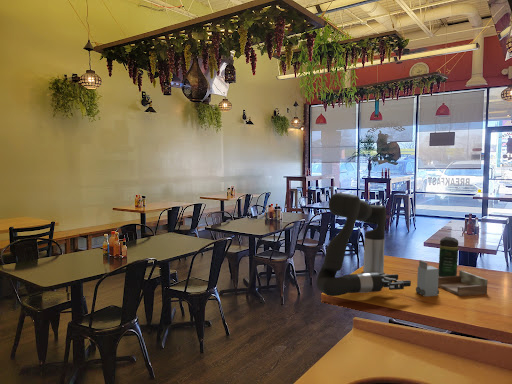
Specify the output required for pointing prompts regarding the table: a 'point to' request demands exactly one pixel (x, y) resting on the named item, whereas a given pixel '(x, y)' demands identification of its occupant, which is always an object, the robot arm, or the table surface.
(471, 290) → the tray
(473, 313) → the table surface
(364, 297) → the table surface
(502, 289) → the table surface
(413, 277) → the table surface
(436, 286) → the grey upright block
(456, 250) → the coffee jar
